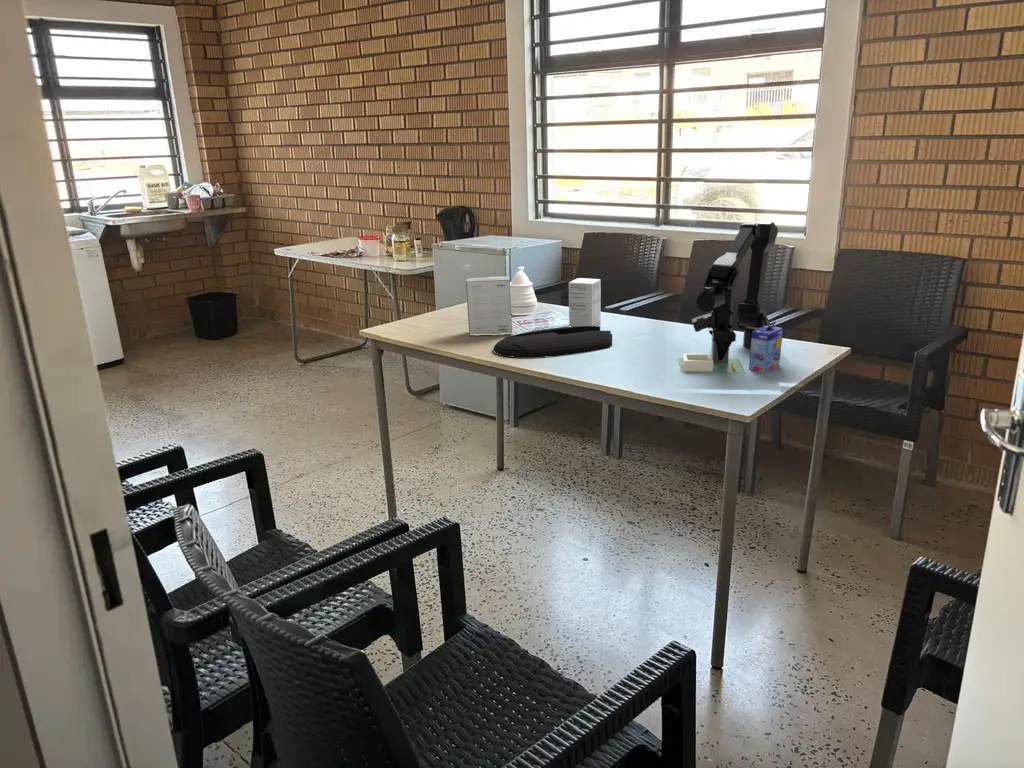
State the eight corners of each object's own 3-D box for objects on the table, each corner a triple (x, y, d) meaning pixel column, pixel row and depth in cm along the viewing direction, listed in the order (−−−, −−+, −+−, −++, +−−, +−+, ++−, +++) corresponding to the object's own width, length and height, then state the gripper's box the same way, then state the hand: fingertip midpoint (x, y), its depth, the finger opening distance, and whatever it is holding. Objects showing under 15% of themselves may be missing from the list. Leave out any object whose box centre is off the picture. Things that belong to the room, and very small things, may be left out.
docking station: (482, 346, 256) (481, 332, 254) (589, 332, 269) (589, 319, 268) (508, 364, 234) (508, 348, 232) (624, 348, 247) (624, 333, 246)
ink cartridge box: (766, 376, 212) (769, 325, 207) (747, 372, 215) (750, 323, 211) (780, 368, 219) (784, 319, 214) (762, 365, 222) (765, 317, 218)
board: (677, 361, 229) (677, 353, 228) (738, 361, 226) (739, 353, 226) (680, 375, 215) (680, 367, 214) (745, 376, 212) (746, 367, 211)
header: (682, 363, 223) (682, 353, 222) (710, 363, 222) (710, 353, 221) (683, 371, 215) (684, 361, 215) (712, 371, 214) (713, 361, 213)
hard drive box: (512, 330, 275) (510, 276, 269) (512, 335, 267) (510, 279, 261) (470, 331, 275) (467, 277, 269) (468, 336, 268) (465, 281, 262)
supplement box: (578, 322, 284) (577, 277, 279) (601, 323, 280) (601, 278, 275) (568, 327, 276) (568, 281, 271) (592, 329, 272) (592, 283, 267)
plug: (710, 358, 227) (711, 337, 225) (726, 359, 226) (727, 337, 224) (712, 363, 222) (713, 341, 220) (728, 363, 222) (729, 341, 220)
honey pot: (508, 309, 311) (506, 265, 306) (539, 309, 309) (538, 265, 304) (502, 315, 299) (501, 270, 294) (535, 316, 297) (533, 270, 292)
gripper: (691, 299, 229) (689, 349, 234) (696, 312, 212) (694, 366, 216) (729, 299, 227) (726, 349, 232) (737, 312, 210) (734, 366, 215)
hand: (719, 357), depth 224 cm, fingers closed on plug, 4 cm apart
